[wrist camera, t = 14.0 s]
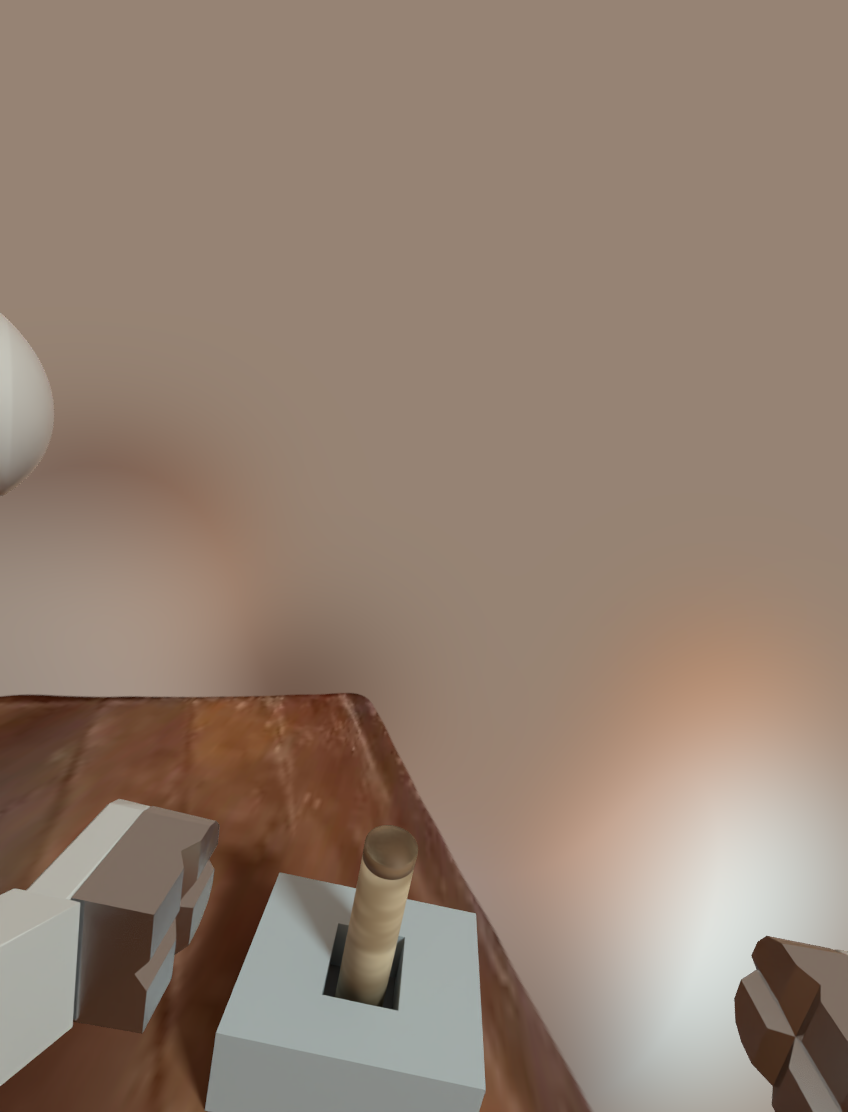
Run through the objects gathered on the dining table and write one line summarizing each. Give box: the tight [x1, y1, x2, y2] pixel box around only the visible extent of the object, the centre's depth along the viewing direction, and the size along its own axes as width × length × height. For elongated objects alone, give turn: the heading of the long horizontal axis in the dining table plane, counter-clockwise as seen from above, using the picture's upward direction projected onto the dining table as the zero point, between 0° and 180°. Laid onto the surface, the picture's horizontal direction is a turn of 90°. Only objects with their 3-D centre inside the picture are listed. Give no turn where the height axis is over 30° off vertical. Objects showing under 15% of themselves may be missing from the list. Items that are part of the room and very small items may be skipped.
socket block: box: [205, 873, 486, 1112], centre depth 32 cm, size 14×10×6 cm
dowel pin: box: [335, 825, 418, 1007], centre depth 30 cm, size 3×3×12 cm
